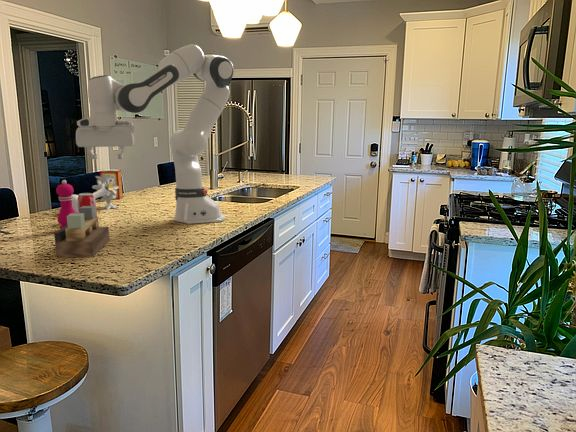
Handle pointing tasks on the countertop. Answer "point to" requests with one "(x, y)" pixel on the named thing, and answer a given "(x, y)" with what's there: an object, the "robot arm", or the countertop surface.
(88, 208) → the block
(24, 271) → the countertop surface
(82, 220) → the block
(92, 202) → the soda can
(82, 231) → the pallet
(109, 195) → the flower vase
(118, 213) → the countertop surface
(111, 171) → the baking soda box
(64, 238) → the block
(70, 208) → the pepper mill
